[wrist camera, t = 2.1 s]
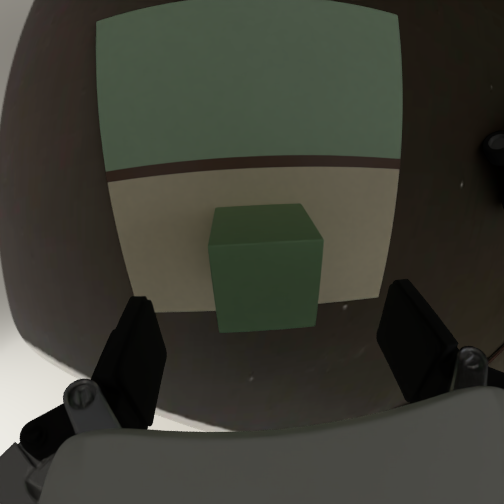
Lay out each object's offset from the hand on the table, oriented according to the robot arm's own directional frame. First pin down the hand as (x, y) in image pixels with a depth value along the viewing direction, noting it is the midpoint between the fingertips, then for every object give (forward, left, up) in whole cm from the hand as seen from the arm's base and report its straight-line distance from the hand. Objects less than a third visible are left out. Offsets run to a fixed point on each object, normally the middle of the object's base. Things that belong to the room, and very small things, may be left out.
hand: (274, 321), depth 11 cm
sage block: (0, 0, -6) cm, 6 cm away
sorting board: (0, +5, -7) cm, 8 cm away
